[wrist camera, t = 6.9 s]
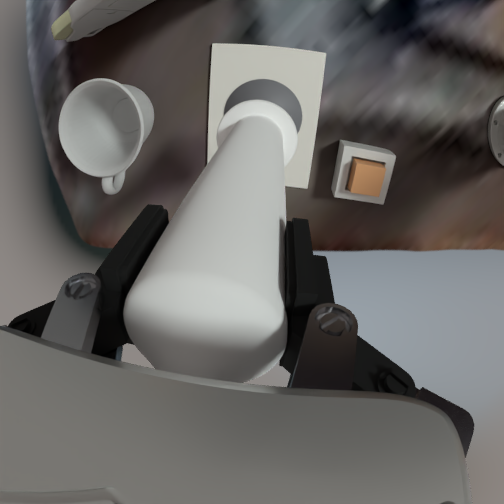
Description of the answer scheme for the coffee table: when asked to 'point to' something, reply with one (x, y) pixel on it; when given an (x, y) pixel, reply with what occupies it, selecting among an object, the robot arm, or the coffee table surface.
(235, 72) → the paper sheet
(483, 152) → the coffee table surface
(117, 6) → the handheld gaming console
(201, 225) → the candle
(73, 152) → the teacup
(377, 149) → the button housing
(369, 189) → the button
